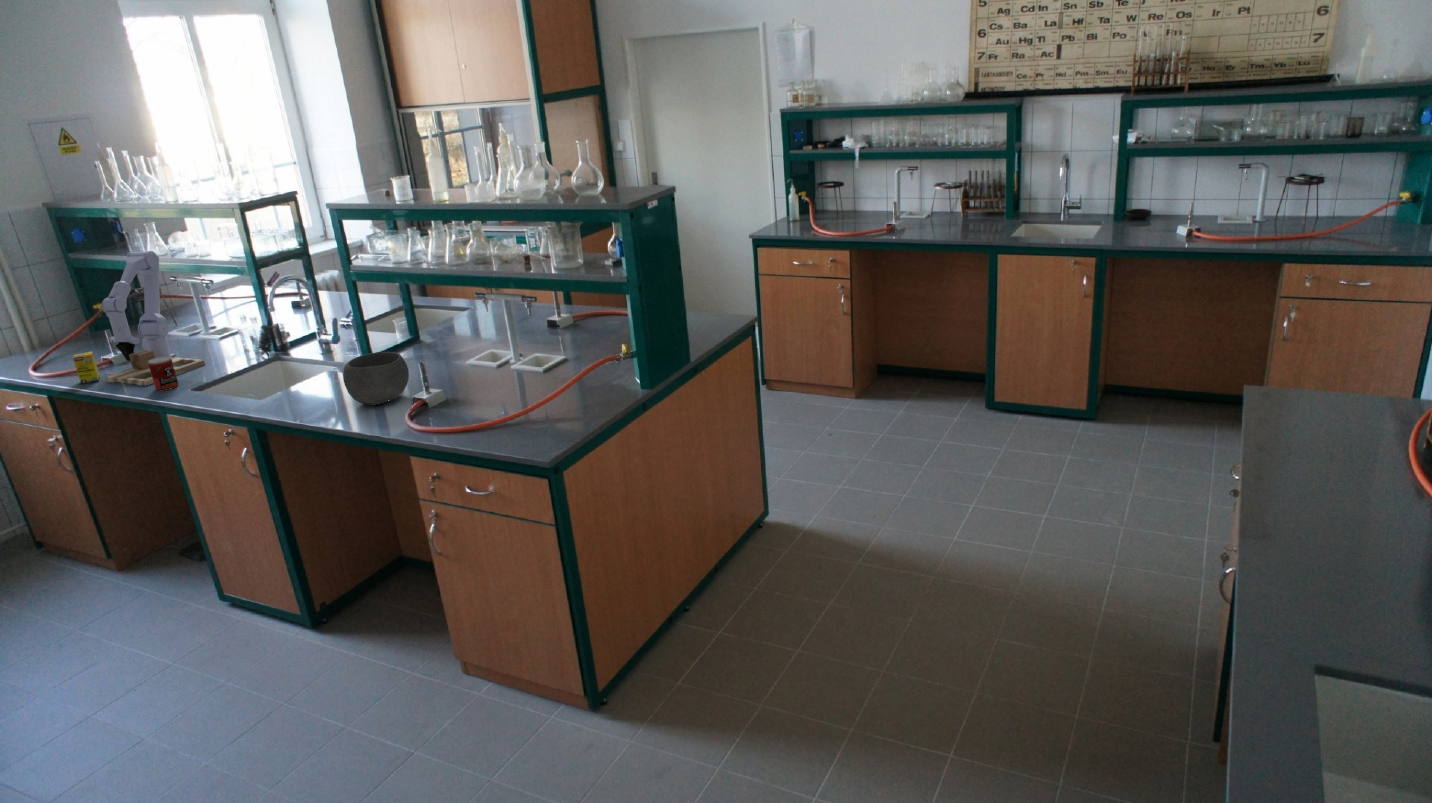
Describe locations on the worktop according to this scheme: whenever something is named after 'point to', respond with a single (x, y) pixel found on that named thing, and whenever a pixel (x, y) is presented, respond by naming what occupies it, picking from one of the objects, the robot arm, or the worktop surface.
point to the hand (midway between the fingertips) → (130, 360)
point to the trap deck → (145, 375)
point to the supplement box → (86, 367)
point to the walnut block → (141, 359)
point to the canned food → (163, 373)
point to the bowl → (376, 377)
